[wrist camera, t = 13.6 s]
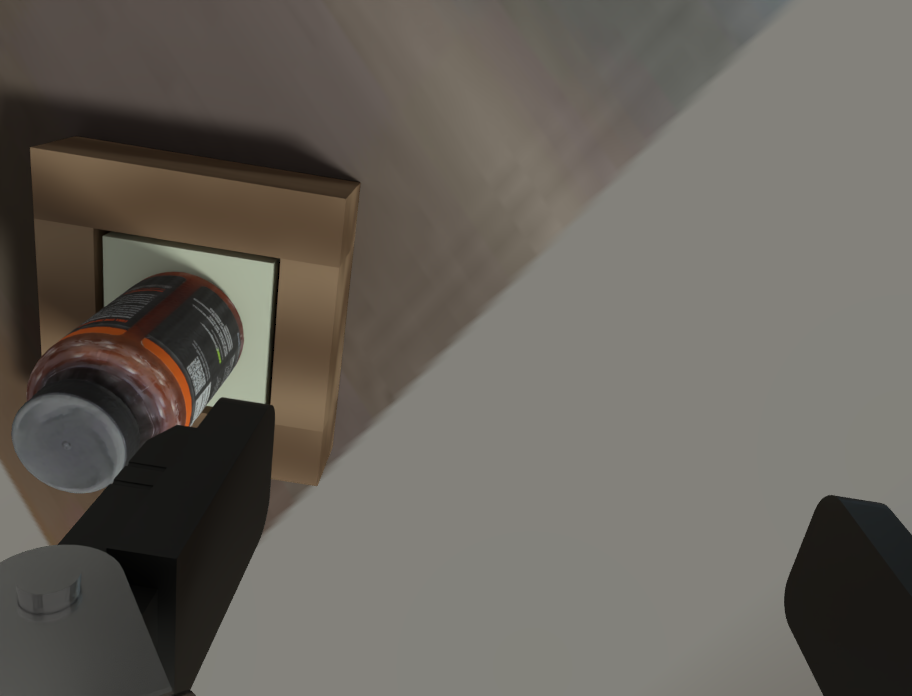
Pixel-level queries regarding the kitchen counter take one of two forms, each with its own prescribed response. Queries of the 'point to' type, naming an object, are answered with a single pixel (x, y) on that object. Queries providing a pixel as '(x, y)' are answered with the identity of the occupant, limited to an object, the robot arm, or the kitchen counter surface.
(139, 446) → the supplement bottle
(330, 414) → the wooden tray
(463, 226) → the kitchen counter surface
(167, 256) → the plate
